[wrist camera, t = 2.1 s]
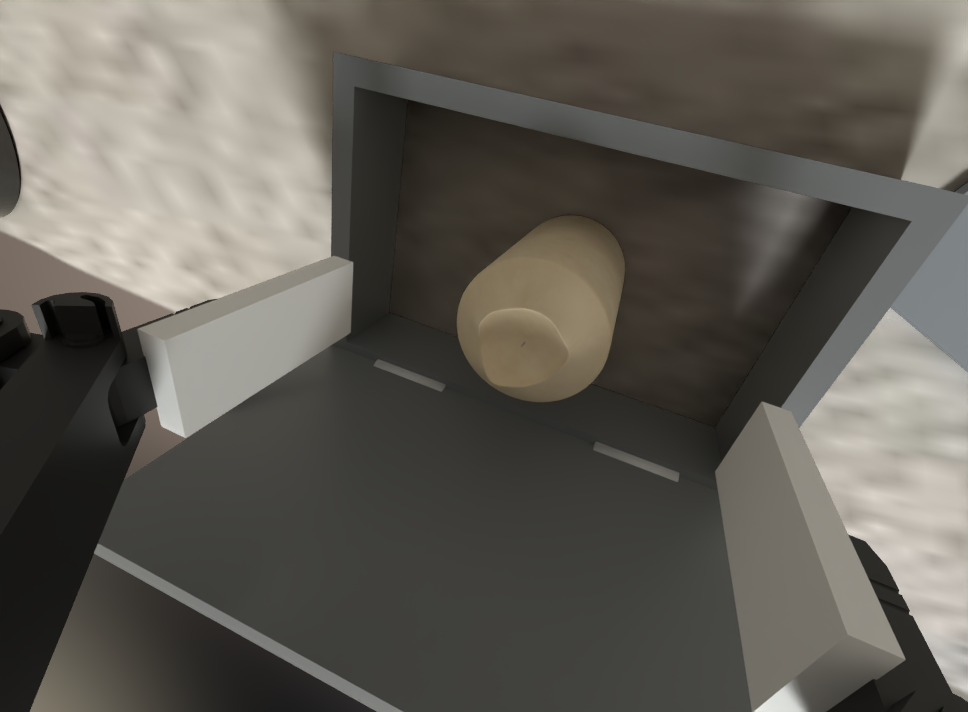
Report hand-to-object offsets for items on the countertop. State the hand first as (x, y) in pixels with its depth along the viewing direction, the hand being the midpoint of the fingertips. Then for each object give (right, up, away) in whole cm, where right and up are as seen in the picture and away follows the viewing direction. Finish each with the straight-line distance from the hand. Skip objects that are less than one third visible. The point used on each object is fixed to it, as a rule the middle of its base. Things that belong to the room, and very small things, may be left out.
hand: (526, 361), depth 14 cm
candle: (+3, +5, +9) cm, 10 cm away
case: (+3, +5, +8) cm, 10 cm away
